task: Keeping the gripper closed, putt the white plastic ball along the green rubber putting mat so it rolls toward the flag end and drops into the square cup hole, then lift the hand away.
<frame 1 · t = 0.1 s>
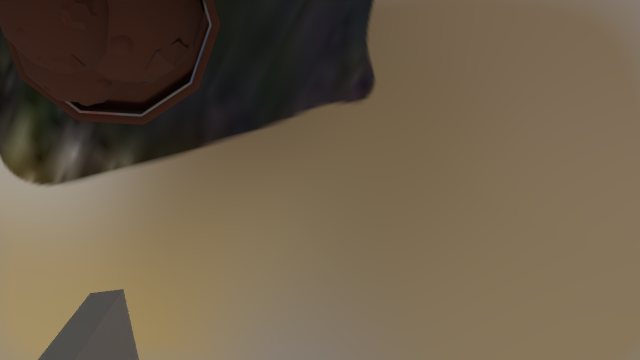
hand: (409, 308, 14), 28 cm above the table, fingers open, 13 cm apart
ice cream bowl: (154, 19, 39), on the table
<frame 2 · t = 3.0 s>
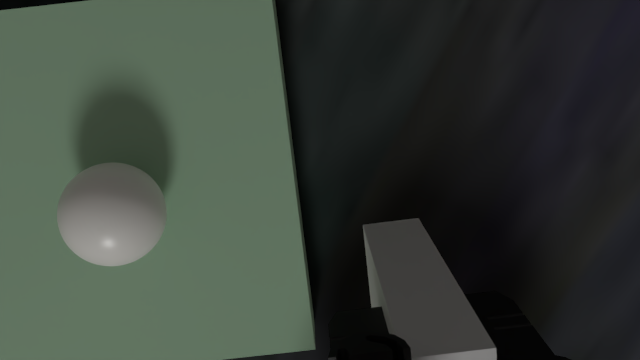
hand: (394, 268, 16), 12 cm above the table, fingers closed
ball: (113, 214, 23), point 4 cm above the table, touching putting mat
putting mat: (36, 194, 27), on the table
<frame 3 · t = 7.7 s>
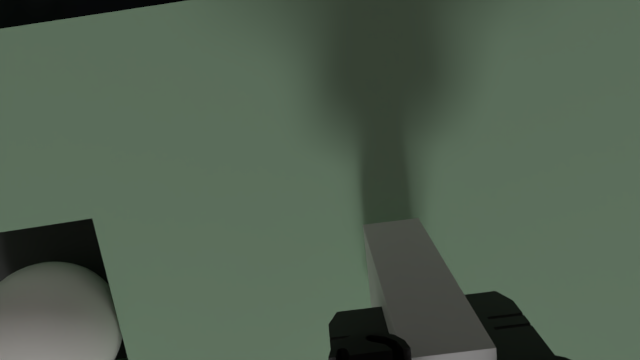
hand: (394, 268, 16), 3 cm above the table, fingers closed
ball: (51, 330, 17), point 2 cm above the table, tilted 22°, touching putting mat
putting mat: (266, 254, 19), on the table
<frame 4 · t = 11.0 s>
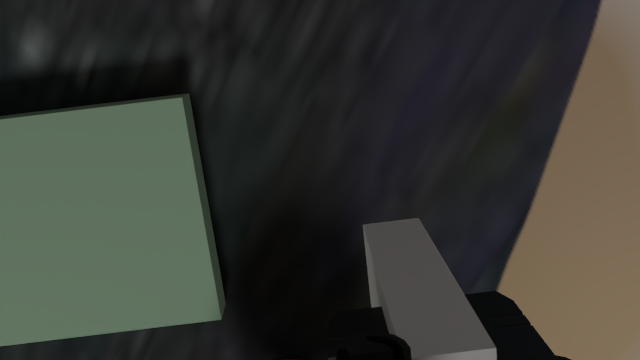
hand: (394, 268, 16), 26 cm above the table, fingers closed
putting mat: (43, 223, 43), on the table
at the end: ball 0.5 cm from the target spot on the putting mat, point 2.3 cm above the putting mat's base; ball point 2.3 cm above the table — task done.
